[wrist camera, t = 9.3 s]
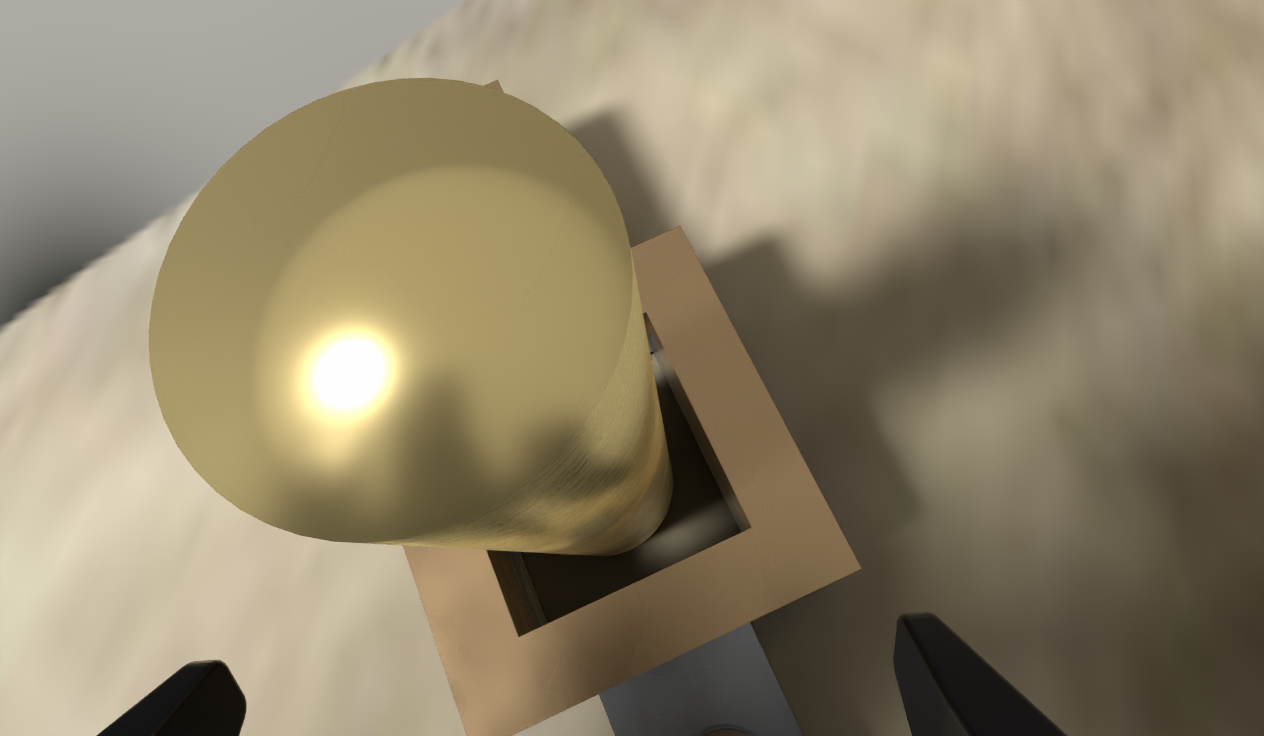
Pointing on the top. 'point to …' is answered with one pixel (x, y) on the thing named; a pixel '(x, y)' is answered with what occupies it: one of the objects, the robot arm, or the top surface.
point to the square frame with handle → (669, 599)
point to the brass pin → (415, 330)
